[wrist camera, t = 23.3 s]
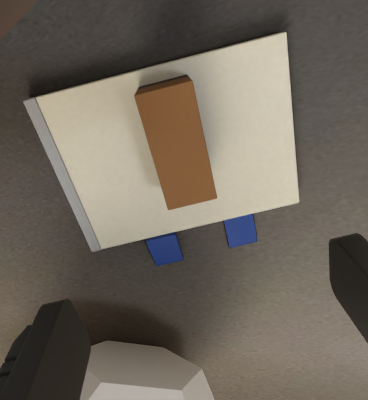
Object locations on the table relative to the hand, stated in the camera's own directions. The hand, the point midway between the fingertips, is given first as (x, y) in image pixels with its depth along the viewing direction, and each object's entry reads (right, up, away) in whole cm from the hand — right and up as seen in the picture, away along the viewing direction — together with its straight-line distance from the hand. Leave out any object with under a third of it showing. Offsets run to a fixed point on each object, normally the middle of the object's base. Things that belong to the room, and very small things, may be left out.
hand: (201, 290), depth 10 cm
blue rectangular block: (-2, -2, +23) cm, 23 cm away
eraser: (-1, +8, +17) cm, 19 cm away
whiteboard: (-1, +7, +19) cm, 20 cm away
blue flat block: (+5, 0, +23) cm, 24 cm away
